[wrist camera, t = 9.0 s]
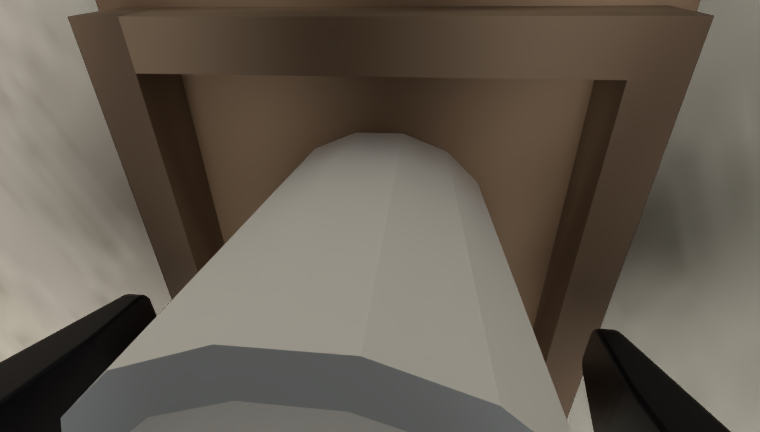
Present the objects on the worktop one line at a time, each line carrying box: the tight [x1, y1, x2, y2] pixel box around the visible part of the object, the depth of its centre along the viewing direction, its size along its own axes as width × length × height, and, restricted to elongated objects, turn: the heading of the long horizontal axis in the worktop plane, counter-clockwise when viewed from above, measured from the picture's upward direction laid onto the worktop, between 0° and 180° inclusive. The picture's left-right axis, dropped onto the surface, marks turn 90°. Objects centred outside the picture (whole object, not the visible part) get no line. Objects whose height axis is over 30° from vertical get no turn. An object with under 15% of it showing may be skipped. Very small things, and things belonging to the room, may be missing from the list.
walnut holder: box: [68, 0, 714, 419], centre depth 11 cm, size 12×12×2 cm
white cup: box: [60, 132, 571, 432], centre depth 8 cm, size 7×7×7 cm
